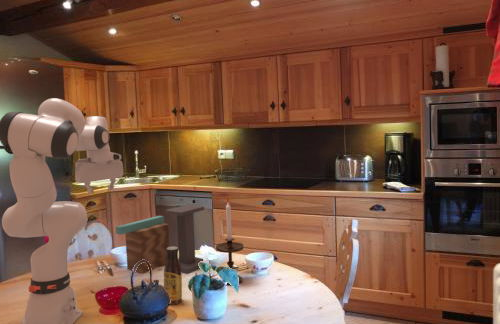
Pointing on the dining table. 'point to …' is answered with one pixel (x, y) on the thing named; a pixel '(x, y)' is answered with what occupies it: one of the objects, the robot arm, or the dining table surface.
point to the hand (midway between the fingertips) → (101, 191)
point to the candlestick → (230, 241)
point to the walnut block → (147, 247)
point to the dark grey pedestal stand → (186, 236)
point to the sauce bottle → (173, 276)
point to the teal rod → (139, 225)
